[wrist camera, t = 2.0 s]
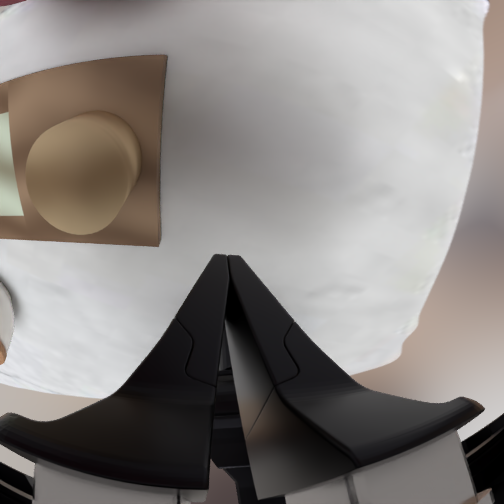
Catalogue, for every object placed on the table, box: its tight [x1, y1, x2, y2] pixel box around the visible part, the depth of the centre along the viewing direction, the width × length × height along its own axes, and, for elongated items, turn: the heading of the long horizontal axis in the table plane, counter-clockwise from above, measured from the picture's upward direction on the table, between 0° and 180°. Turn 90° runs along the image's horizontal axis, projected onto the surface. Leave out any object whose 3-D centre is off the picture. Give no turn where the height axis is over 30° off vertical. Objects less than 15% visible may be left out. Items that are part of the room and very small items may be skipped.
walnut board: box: [0, 55, 167, 247], centre depth 15 cm, size 14×22×1 cm, turn 82°
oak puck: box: [25, 111, 142, 235], centre depth 14 cm, size 7×7×4 cm
